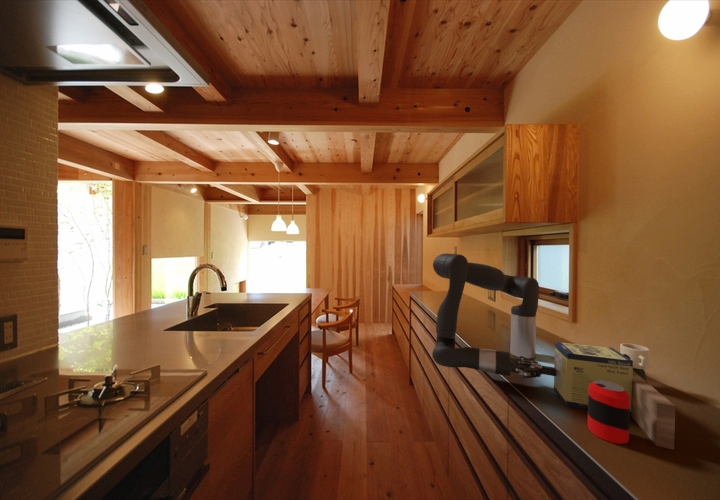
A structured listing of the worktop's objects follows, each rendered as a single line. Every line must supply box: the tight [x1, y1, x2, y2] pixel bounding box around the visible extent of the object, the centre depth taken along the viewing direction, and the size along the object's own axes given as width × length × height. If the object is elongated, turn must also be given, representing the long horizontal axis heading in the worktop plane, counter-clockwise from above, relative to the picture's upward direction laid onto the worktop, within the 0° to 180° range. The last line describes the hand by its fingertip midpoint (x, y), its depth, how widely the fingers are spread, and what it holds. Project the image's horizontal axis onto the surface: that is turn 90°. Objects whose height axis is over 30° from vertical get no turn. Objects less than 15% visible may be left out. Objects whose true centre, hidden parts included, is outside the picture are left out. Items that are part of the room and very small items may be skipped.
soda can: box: [587, 380, 631, 445], centre depth 68 cm, size 8×8×12 cm
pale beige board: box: [630, 371, 676, 450], centre depth 76 cm, size 26×3×10 cm, turn 155°
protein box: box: [553, 342, 633, 418], centre depth 83 cm, size 10×16×16 cm
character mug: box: [619, 342, 651, 383], centre depth 93 cm, size 11×7×13 cm, turn 159°
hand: (555, 372), depth 87 cm, fingers closed
